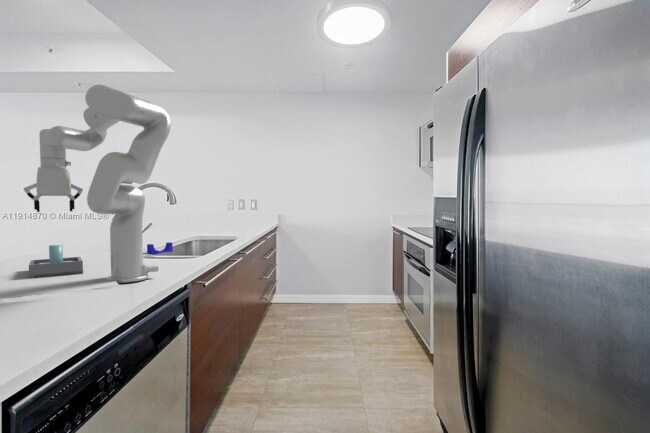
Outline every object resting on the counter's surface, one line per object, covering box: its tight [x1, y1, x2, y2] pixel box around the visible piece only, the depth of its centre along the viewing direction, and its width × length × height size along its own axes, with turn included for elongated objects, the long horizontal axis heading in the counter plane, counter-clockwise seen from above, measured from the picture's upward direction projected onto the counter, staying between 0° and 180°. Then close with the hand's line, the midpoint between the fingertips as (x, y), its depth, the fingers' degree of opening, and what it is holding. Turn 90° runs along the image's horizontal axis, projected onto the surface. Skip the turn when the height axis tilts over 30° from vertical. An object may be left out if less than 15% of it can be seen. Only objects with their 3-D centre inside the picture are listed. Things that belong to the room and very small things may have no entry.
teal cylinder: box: [48, 244, 64, 263], centre depth 134 cm, size 4×4×9 cm
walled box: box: [28, 256, 84, 279], centre depth 134 cm, size 15×16×4 cm
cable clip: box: [146, 241, 174, 255], centre depth 186 cm, size 12×4×6 cm, turn 147°
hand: (55, 211), depth 134 cm, fingers open, 9 cm apart
